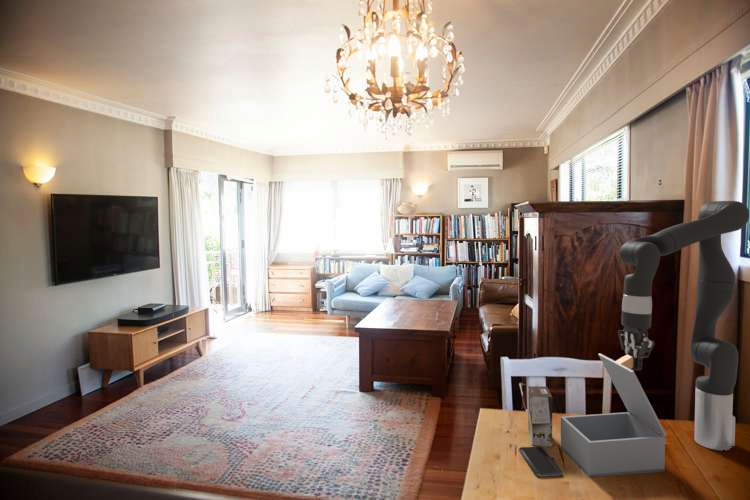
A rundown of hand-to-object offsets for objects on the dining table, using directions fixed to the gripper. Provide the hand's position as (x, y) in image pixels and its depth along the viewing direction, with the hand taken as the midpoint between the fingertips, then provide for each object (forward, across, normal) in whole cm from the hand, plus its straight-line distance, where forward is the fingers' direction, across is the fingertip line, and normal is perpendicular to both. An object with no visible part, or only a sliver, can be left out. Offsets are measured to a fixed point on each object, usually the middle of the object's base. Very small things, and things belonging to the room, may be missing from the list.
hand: (633, 368), depth 131 cm
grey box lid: (+8, 0, +1) cm, 8 cm away
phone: (+29, +1, +27) cm, 40 cm away
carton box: (+27, 0, +6) cm, 28 cm away
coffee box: (+28, +14, +21) cm, 38 cm away
